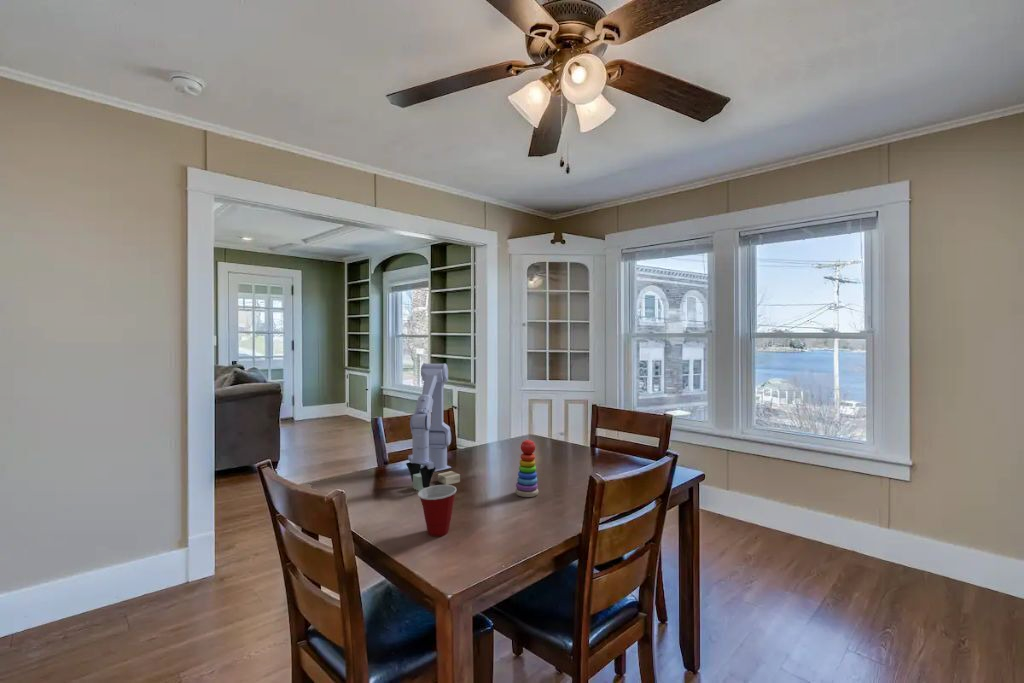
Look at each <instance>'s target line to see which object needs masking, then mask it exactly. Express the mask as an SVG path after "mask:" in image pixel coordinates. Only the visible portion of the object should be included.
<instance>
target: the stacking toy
mask: <svg viewBox="0 0 1024 683" xmlns="http://www.w3.org/2000/svg"><path fill="white" fill-rule="evenodd" d="M520 450H521V452H522V453H521V454H520V460H519V466H518V470H519V471H518V472H517V476H518V477H517V478H516V480H517V482H516V484H515V487H516V488H515V494H516V495H517V496H519V497H521V498H533V497H536V496H537V495H538V494H539V491H540V490H539V489H538V478H537V476H538V474H537V466H536V460H535V459H536V456H535V454H534V452H535V450H536V444H535V442H534V441H533V440H531V439H525V440H523V441H522V442H521V444H520Z"/></svg>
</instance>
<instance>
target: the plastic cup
mask: <svg viewBox="0 0 1024 683" xmlns="http://www.w3.org/2000/svg"><path fill="white" fill-rule="evenodd" d="M456 493H457V487H456V486H454V485H452V484H449V485H445V484H437V485H430V486H429V487H427V488H424V489H422V490H420V491H417V496H418V498H419V500H420V502H421V504H422V509H423V514H424V521H425V525H426V532H427V534H428V535H429V536H431V537H437V538H438V537H443V536H446V535H448V533H449V530H450V526H451V521H452V515H453V508H454V502H455V496H456Z"/></svg>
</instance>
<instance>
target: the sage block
mask: <svg viewBox="0 0 1024 683" xmlns="http://www.w3.org/2000/svg"><path fill="white" fill-rule="evenodd" d="M413 488H414V490H415V489H416V491H417V490H418V491H417V492H419V491H420V490H422V489H424V488H423V484H422V476H421V473H420V472H419V473H418V474H413V482H412V489H413Z"/></svg>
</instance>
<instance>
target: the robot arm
mask: <svg viewBox="0 0 1024 683" xmlns="http://www.w3.org/2000/svg"><path fill="white" fill-rule="evenodd" d="M420 377H421V378H422V379H421V380H422V381H423V385H422V392H421V393H422V394H421V395H420V396H418V398H417V402H416V405H415V406H416V407H415V409H414V413H413V414H411V416H410V419H409V426H410V434H411V436H412V440H411V441H412V443H411V444H412V447H411V448H412V454H408V455H407V456H408V457H407V458H408V459H407V460H408V461H409V462H406V463H405V465H406V467H407V468H408V471H409V474H410V479H411V482H412V483H413V474H418V473H421V476H422V484H423V488H427V487H430V486H431V481H432V479H433V478H432V477H433V475H434V473H435V472H439V471H444V470H449V469H452V466H450V465H448V447H449V446H450V445H451V443H452V432H451V427H450V425H448V424H446V422H444V386H445V384H446V383H448V382H449V368H448V364H447V363H426V362H423V363H422V365H421V368H420Z"/></svg>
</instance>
